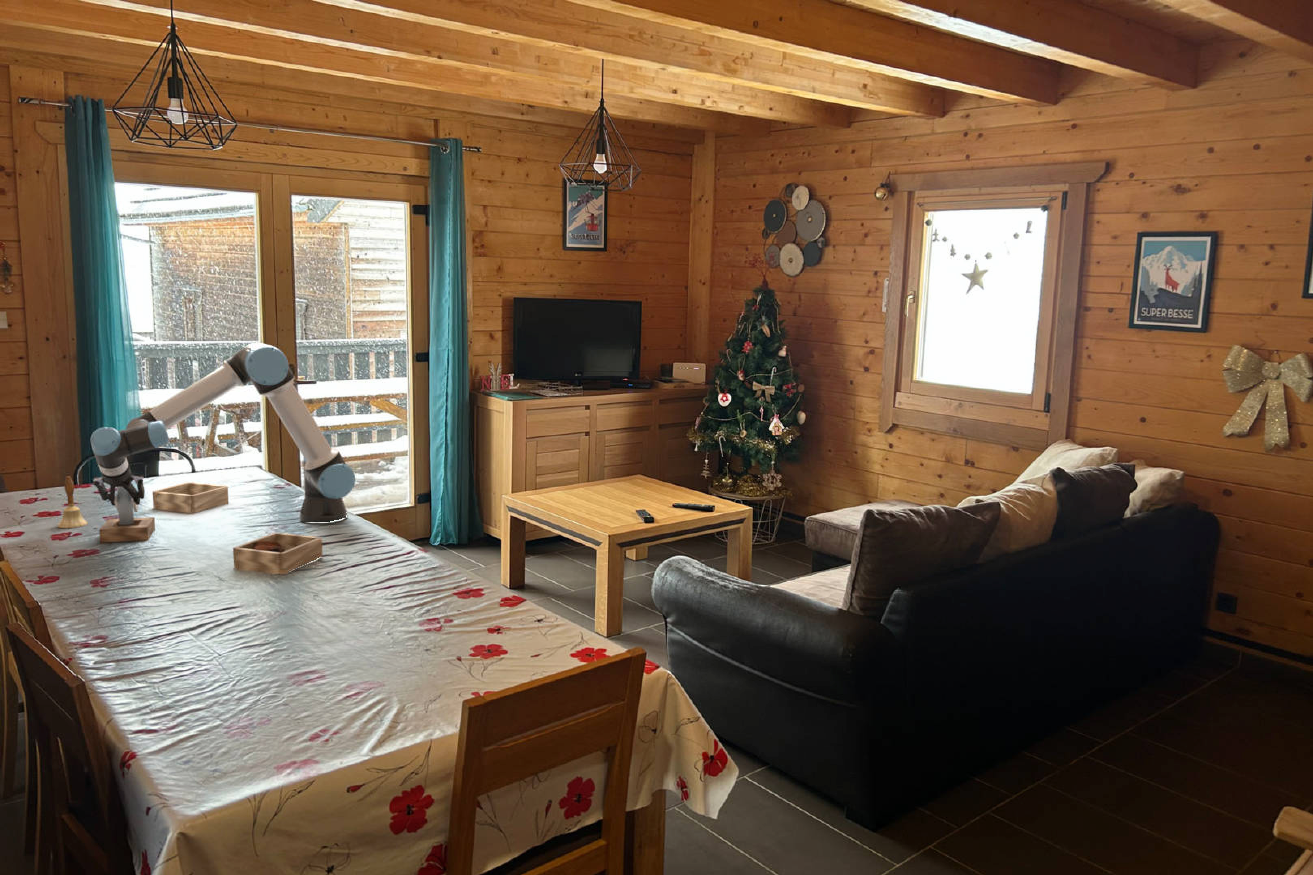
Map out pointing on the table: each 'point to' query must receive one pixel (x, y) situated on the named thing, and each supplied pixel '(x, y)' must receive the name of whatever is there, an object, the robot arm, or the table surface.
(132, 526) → the socket
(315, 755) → the table surface
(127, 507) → the peg
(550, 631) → the table surface
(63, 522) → the hand bell
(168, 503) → the wooden tray
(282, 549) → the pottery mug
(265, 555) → the open wooden box
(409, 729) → the table surface
